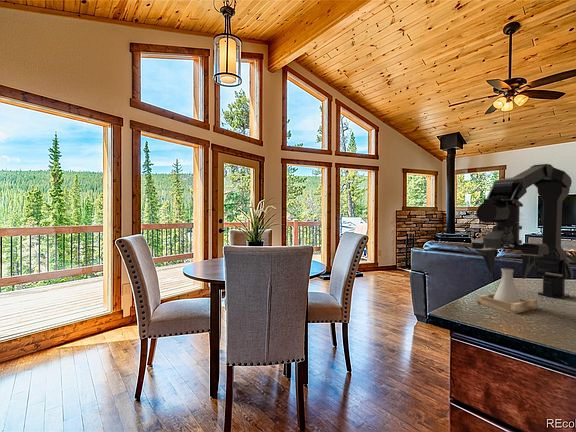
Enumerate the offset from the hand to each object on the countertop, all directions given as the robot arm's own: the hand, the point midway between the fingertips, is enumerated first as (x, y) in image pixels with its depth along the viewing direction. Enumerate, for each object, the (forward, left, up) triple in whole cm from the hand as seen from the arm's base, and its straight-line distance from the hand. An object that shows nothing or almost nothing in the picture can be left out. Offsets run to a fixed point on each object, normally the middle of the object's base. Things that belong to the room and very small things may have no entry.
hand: (506, 275), depth 97 cm
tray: (0, 0, -9) cm, 9 cm away
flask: (0, 0, -8) cm, 8 cm away
